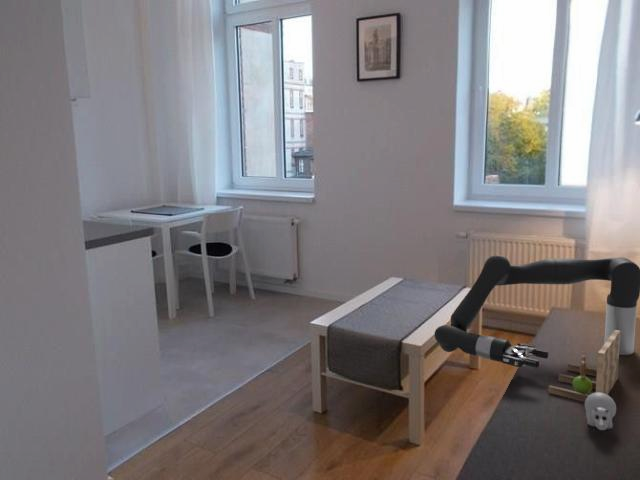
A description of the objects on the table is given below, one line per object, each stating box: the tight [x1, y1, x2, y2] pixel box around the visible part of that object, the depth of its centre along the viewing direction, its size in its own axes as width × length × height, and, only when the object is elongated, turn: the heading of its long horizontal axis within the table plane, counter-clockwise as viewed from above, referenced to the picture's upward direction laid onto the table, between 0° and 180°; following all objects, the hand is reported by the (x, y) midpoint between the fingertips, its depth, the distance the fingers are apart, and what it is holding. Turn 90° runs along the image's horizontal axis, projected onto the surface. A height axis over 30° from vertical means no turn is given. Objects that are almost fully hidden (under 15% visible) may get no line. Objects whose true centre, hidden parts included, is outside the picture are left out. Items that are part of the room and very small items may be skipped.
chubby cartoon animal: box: [584, 391, 617, 431], centre depth 145 cm, size 8×12×9 cm, turn 153°
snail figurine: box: [571, 351, 593, 395], centre depth 165 cm, size 5×6×12 cm
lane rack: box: [548, 330, 620, 403], centre depth 168 cm, size 22×14×16 cm, turn 141°
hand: (543, 359), depth 171 cm, fingers open, 8 cm apart
